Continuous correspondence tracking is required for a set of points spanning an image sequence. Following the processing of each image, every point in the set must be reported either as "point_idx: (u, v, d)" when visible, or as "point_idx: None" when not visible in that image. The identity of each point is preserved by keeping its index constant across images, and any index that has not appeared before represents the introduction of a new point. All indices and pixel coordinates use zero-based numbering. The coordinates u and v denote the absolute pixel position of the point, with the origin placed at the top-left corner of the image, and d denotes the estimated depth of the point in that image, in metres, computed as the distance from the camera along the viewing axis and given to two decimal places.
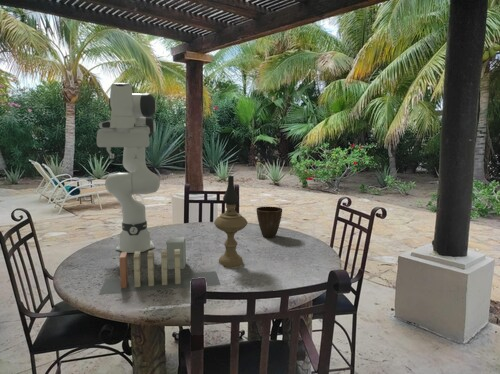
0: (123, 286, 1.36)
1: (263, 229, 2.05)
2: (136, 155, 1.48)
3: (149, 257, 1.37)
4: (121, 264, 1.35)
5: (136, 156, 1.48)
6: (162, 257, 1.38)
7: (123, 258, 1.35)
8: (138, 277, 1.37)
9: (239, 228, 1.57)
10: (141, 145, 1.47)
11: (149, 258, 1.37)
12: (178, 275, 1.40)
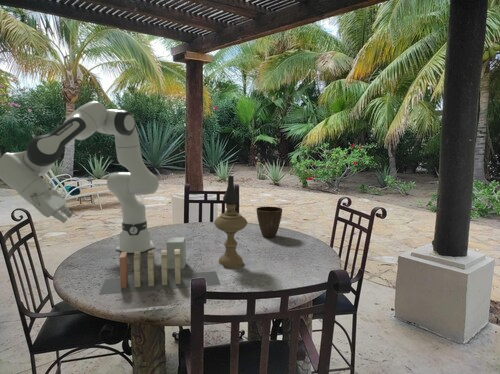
0: (123, 286, 1.36)
1: (263, 229, 2.05)
2: None
3: (149, 257, 1.37)
4: (121, 264, 1.35)
5: None
6: (162, 257, 1.38)
7: (123, 258, 1.35)
8: (138, 277, 1.37)
9: (239, 228, 1.57)
10: None
11: (149, 258, 1.37)
12: (178, 275, 1.40)
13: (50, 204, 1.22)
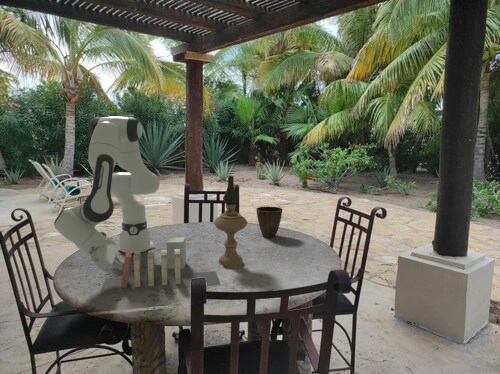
0: (124, 285, 1.36)
1: (263, 229, 2.05)
2: None
3: (149, 257, 1.37)
4: (125, 263, 1.35)
5: None
6: (162, 257, 1.38)
7: (128, 258, 1.35)
8: (138, 277, 1.37)
9: (239, 228, 1.57)
10: None
11: (149, 258, 1.37)
12: (178, 275, 1.40)
13: (107, 258, 1.29)
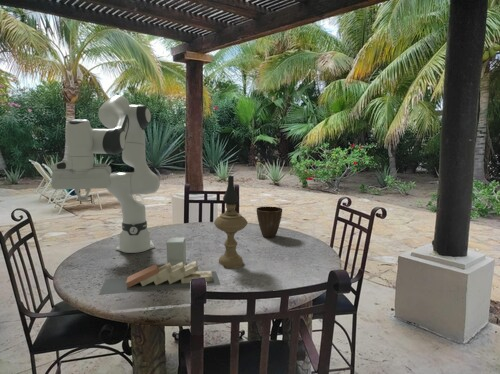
0: (129, 284, 1.36)
1: (263, 229, 2.05)
2: (84, 197, 1.35)
3: (181, 269, 1.40)
4: (149, 273, 1.38)
5: (85, 198, 1.35)
6: (194, 268, 1.41)
7: (156, 272, 1.38)
8: (151, 280, 1.38)
9: (239, 228, 1.57)
10: (101, 186, 1.35)
11: (180, 269, 1.40)
12: None
13: None
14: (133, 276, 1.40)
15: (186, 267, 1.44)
